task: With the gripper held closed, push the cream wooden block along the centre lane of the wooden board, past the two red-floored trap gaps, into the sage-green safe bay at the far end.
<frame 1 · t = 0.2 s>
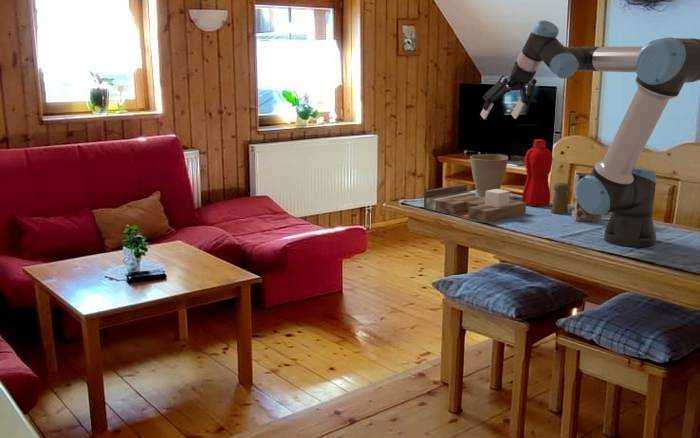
hand: (498, 116, 246), 35 cm above the table, tool tilted 35°, fingers open, 13 cm apart
block: (496, 204, 253), point 4 cm above the table, touching wooden board
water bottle: (537, 204, 273), on the table
cork: (559, 213, 259), on the table
coffee box: (586, 220, 249), on the table
wooden board: (473, 210, 262), on the table
plant pot: (487, 196, 288), on the table
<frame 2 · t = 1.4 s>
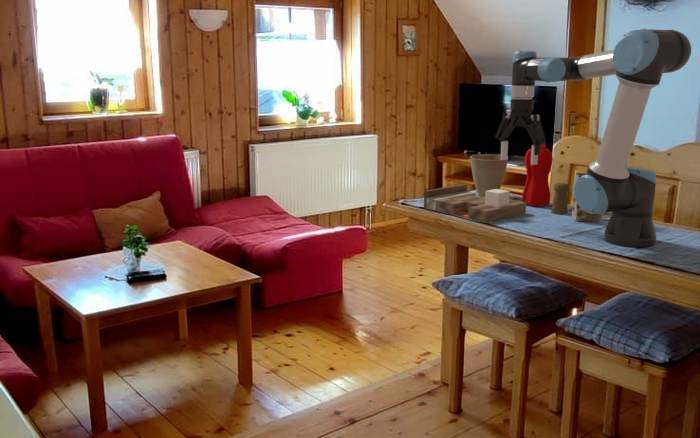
hand: (518, 162, 243), 20 cm above the table, tool pointing down, fingers open, 12 cm apart
nothing on the table moved.
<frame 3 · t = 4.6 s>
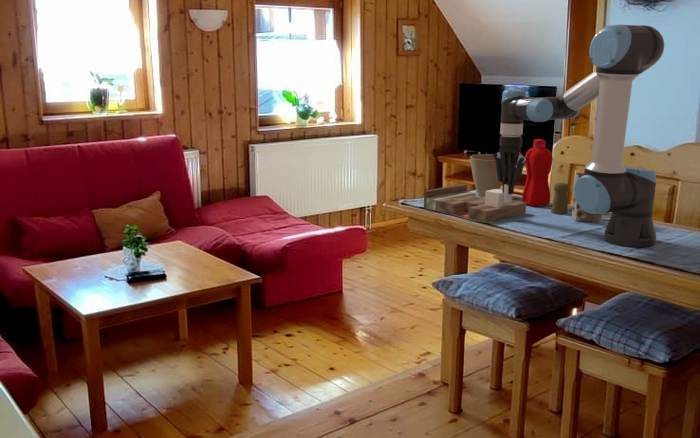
hand: (507, 202, 250), 6 cm above the table, tool pointing down, fingers closed
block: (496, 204, 253), point 4 cm above the table, touching gripper, wooden board
everything else where it was.
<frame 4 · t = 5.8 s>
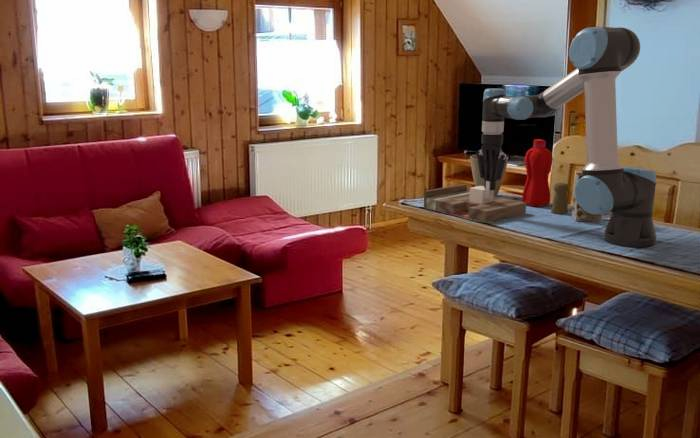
hand: (489, 198, 256), 6 cm above the table, tool pointing down, fingers closed
block: (481, 201, 259), point 4 cm above the table, touching gripper
everything else where it was.
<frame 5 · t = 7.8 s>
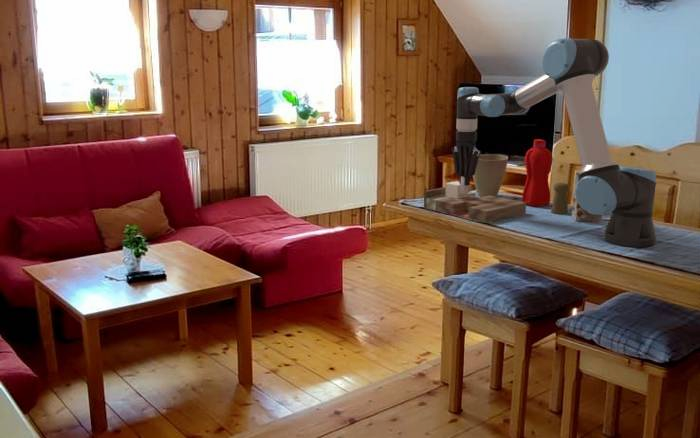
hand: (464, 193, 265), 6 cm above the table, tool pointing down, fingers closed
block: (456, 196, 268), point 4 cm above the table, touching gripper
everything else where it was.
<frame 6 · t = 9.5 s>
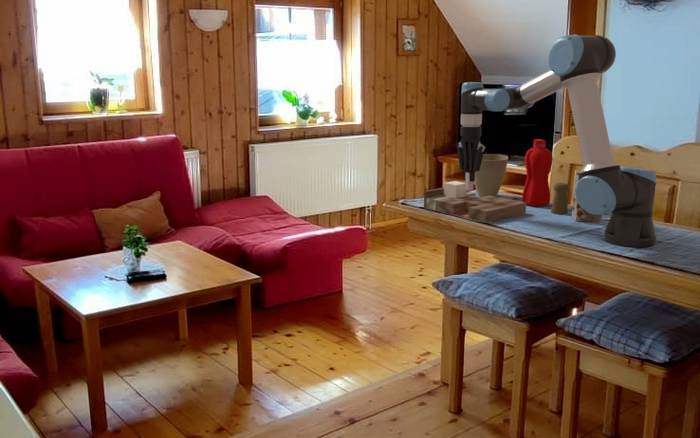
hand: (469, 189, 262), 8 cm above the table, tool pointing down, fingers closed
block: (455, 196, 268), point 4 cm above the table, touching wooden board
everything else where it was.
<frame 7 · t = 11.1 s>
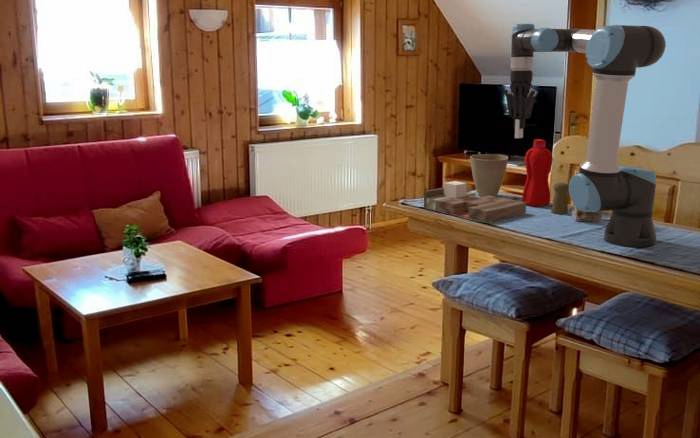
hand: (518, 137, 252), 27 cm above the table, tool pointing down, fingers closed
nothing on the table moved.
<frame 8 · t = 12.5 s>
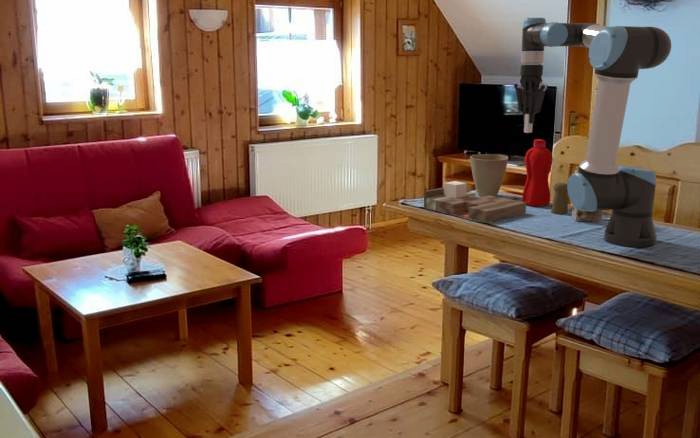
hand: (527, 132, 251), 29 cm above the table, tool pointing down, fingers closed
nothing on the table moved.
at the end: block inside the target area (1.4 cm from its centre), point 4.0 cm above the table; block tilted 0° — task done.
